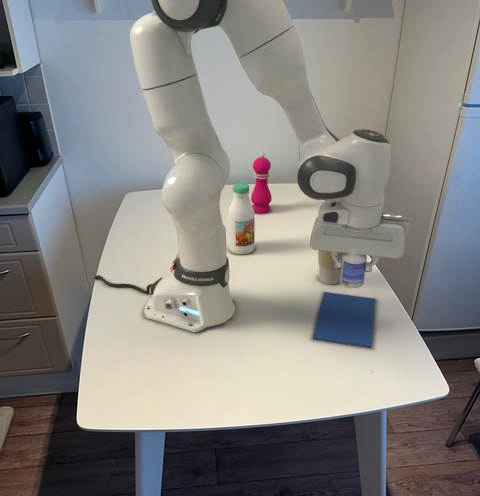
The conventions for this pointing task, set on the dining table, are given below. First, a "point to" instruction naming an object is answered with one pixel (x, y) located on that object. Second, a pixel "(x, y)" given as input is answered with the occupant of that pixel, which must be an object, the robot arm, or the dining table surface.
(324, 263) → the coffee cup
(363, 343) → the blue pad
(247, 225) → the milk bottle
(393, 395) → the dining table surface
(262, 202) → the pepper mill
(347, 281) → the pill bottle
